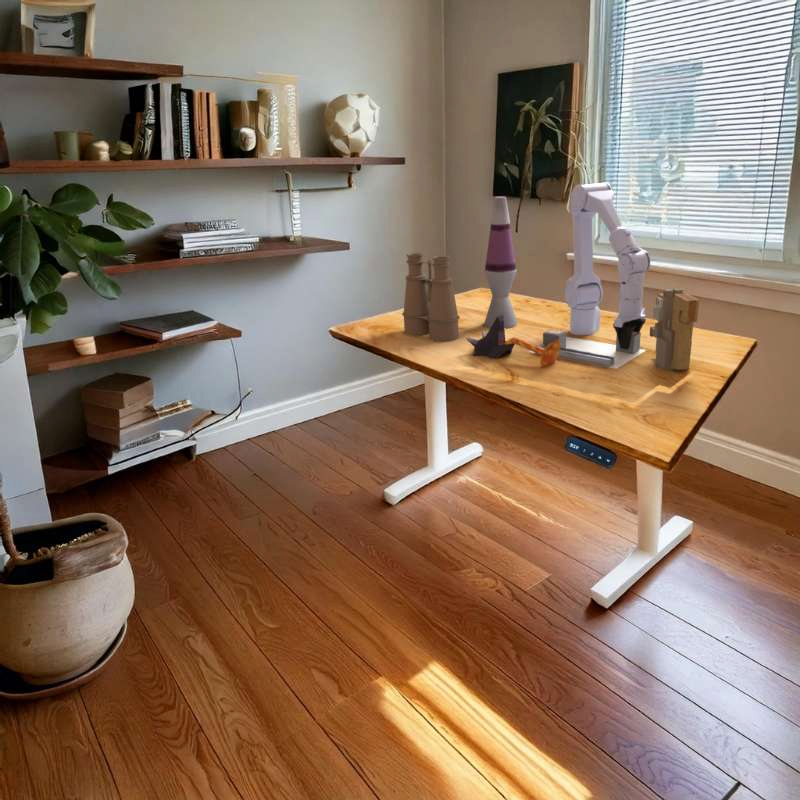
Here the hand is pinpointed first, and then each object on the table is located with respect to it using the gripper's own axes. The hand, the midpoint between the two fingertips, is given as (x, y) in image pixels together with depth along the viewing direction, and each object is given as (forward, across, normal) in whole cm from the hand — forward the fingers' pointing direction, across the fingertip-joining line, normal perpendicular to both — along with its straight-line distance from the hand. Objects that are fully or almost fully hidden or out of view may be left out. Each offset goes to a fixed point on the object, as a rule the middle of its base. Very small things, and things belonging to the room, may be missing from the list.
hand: (627, 346), depth 187 cm
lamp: (+3, +8, +47) cm, 48 cm away
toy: (+3, -5, -14) cm, 15 cm away
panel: (+2, -6, +9) cm, 11 cm away
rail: (+1, -14, +9) cm, 16 cm away
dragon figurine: (+3, -21, +23) cm, 32 cm away
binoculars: (+3, -13, +59) cm, 60 cm away
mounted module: (+1, -10, +17) cm, 20 cm away
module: (+1, 0, 0) cm, 1 cm away
